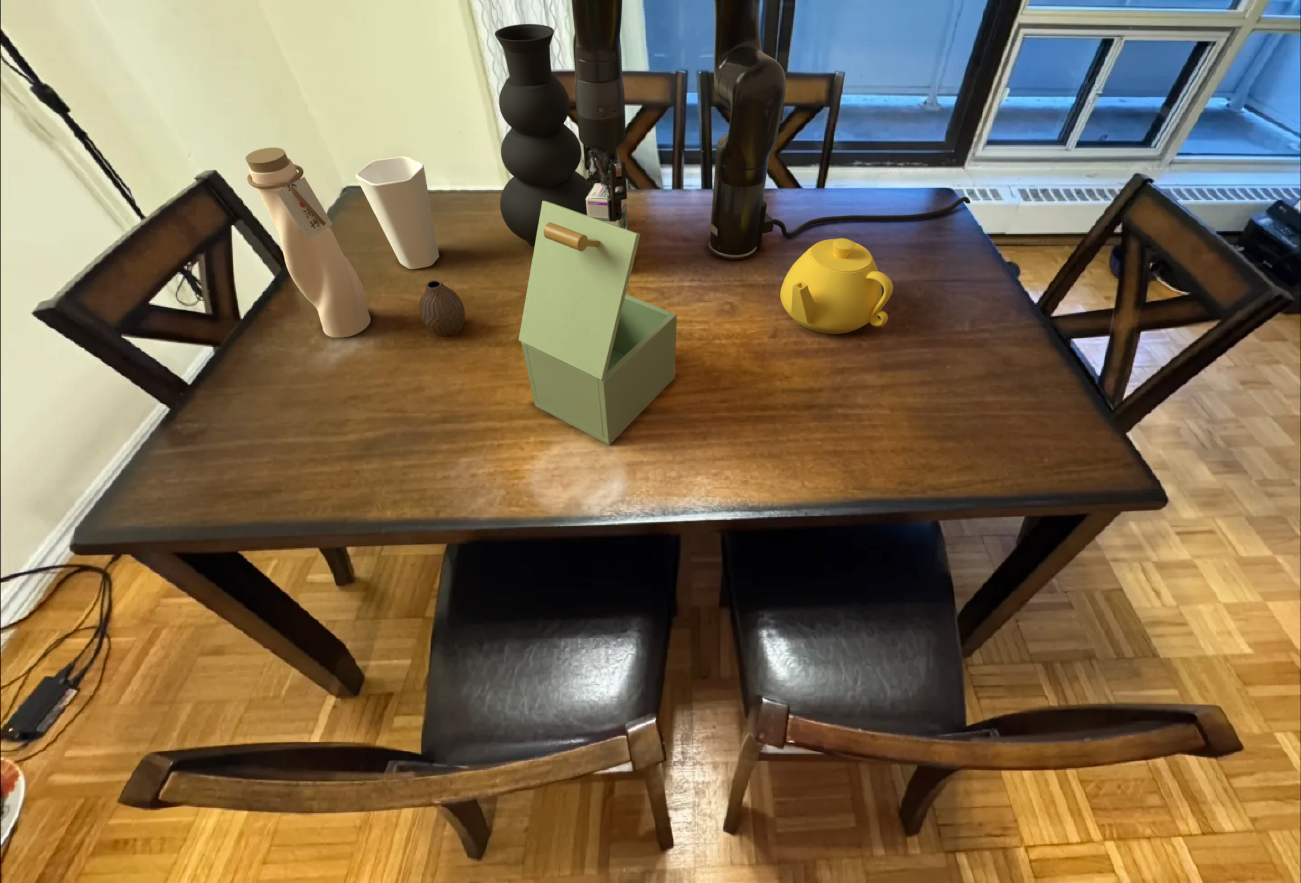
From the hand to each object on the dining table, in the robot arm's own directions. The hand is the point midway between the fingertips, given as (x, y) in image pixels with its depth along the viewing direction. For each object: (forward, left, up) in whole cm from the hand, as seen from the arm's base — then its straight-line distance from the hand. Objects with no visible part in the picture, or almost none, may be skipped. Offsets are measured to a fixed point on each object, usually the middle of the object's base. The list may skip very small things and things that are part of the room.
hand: (606, 208), depth 103 cm
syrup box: (0, 0, -11) cm, 11 cm away
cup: (+33, -17, -11) cm, 39 cm away
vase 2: (+7, -14, -11) cm, 19 cm away
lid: (+16, +34, +9) cm, 39 cm away
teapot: (-28, +30, -11) cm, 43 cm away
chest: (+13, +32, -11) cm, 36 cm away
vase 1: (+32, +7, -11) cm, 35 cm away
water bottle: (+47, -1, -11) cm, 48 cm away
